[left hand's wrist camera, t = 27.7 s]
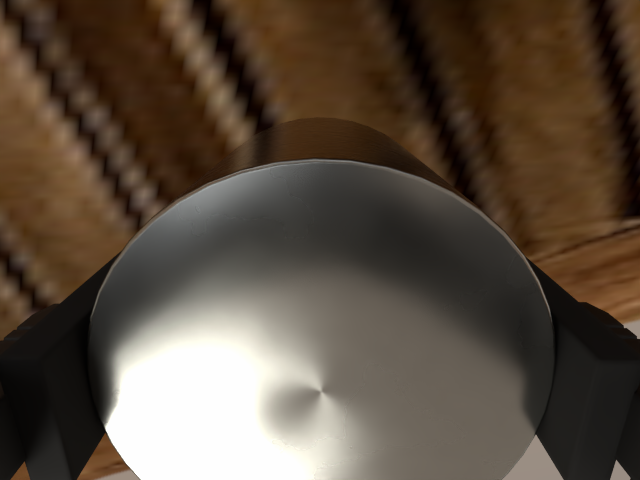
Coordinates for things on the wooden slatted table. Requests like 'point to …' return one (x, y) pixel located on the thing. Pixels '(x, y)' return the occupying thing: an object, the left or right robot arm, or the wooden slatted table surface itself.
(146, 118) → the wooden slatted table surface
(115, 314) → the tin
